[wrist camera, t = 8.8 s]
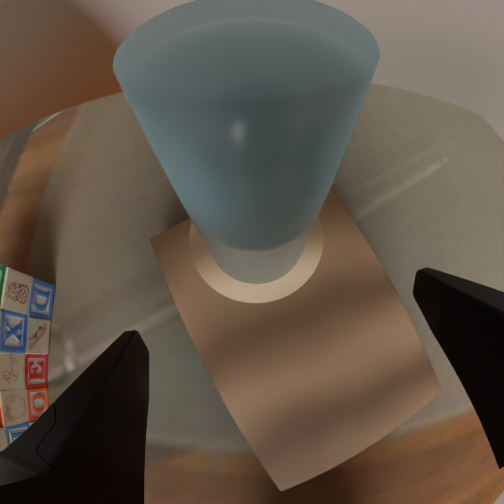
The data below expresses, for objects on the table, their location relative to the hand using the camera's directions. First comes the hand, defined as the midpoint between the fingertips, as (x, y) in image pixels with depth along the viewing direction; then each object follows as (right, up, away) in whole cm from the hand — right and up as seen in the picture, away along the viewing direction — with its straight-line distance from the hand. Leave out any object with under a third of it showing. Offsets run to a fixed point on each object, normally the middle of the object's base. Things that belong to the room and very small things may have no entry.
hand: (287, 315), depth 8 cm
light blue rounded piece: (-1, +3, +8) cm, 9 cm away
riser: (+2, -3, +10) cm, 10 cm away
